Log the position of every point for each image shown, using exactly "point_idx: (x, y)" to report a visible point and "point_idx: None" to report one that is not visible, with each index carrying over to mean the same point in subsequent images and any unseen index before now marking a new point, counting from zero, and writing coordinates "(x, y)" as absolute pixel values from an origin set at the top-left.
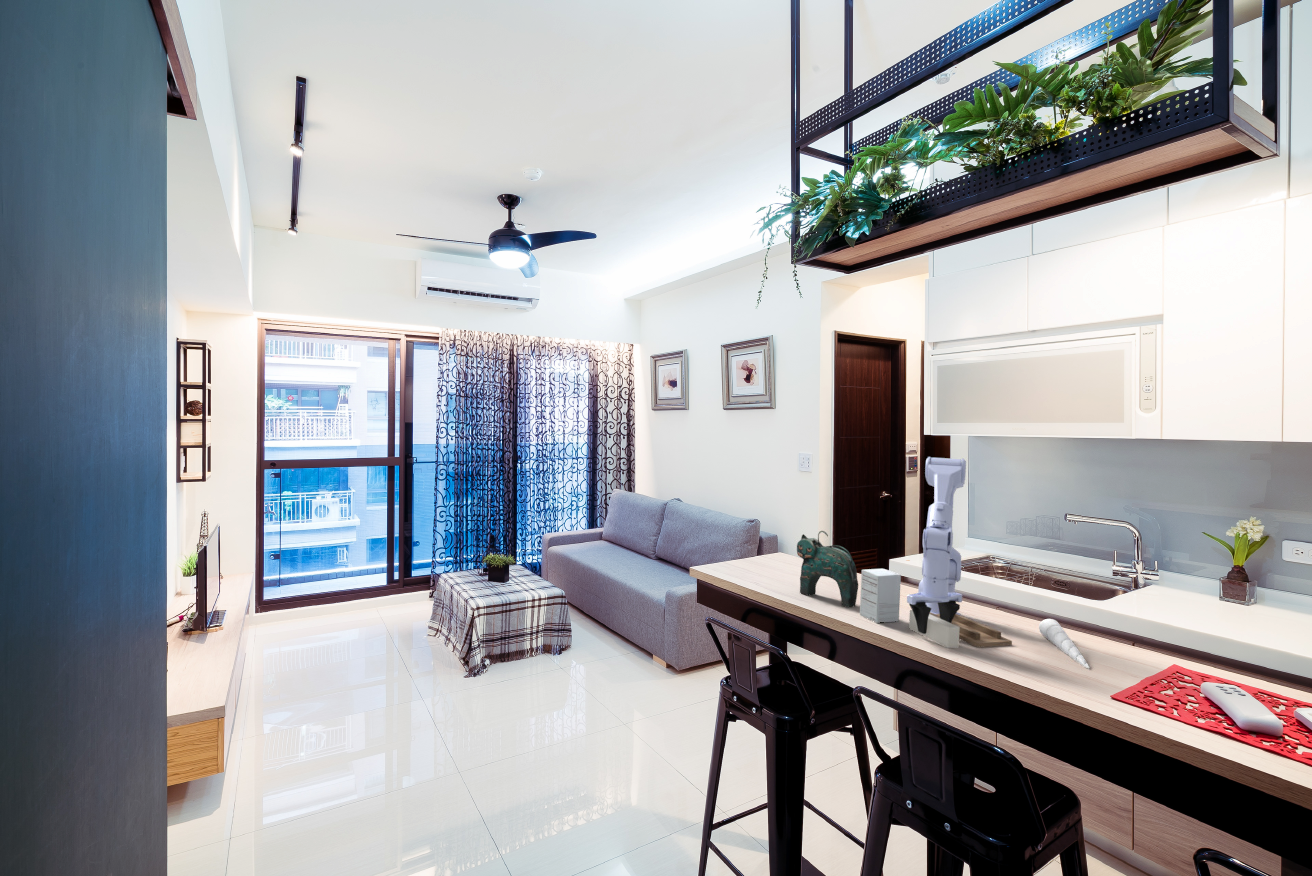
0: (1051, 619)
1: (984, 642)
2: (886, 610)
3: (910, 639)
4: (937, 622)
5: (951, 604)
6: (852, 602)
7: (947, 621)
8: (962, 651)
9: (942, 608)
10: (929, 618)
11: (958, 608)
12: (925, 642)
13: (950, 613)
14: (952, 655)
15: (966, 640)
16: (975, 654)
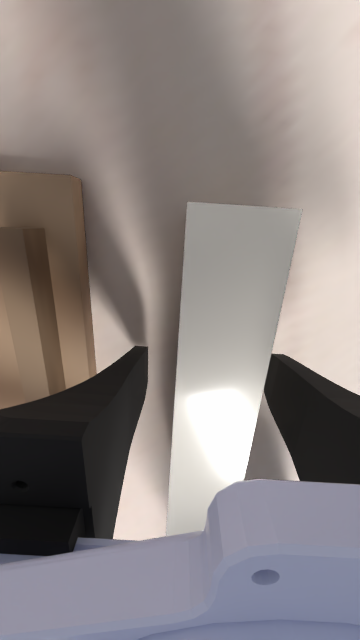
0: None
1: (18, 177)
2: None
3: (328, 356)
4: (271, 343)
5: (66, 478)
6: None
7: (133, 376)
8: (221, 141)
9: (116, 483)
10: (247, 420)
11: (14, 411)
12: (297, 309)
13: (114, 397)
14: (342, 90)
15: (84, 266)
16: (184, 67)
